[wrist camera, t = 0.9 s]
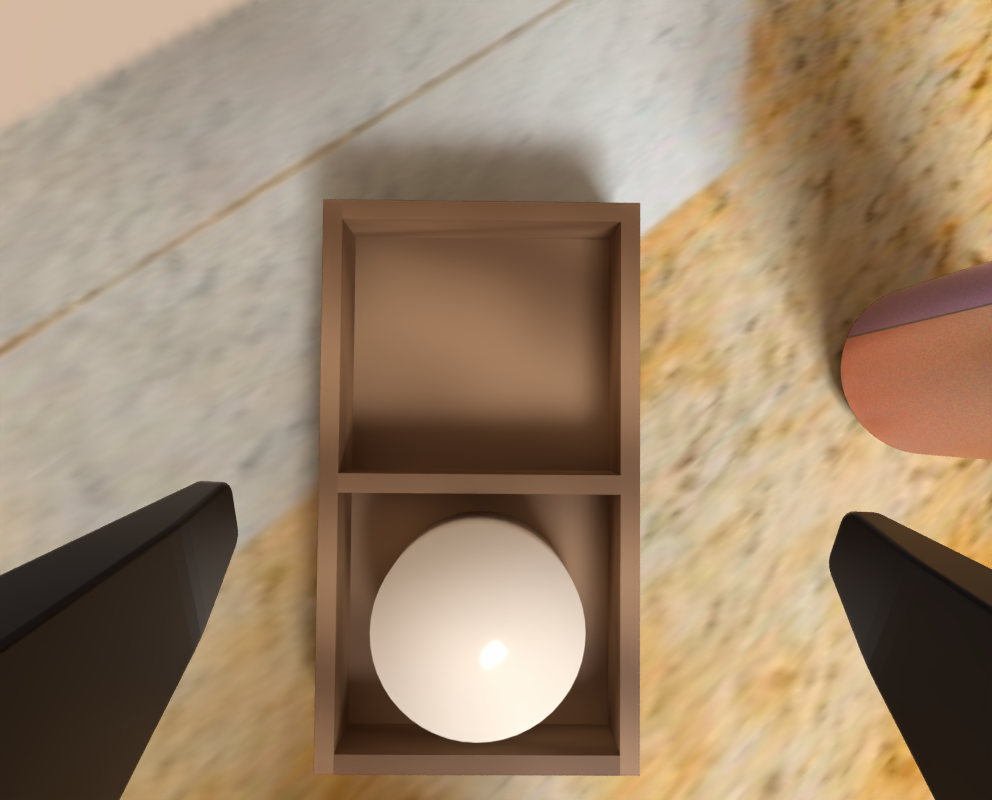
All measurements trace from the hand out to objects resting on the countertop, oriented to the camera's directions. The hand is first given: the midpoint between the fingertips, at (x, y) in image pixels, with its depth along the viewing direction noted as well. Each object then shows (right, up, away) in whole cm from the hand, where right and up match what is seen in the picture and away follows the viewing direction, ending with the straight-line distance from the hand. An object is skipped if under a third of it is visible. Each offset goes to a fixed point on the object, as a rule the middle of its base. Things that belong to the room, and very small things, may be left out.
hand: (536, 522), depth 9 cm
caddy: (-1, -1, +14) cm, 14 cm away
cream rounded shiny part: (-1, -5, +12) cm, 13 cm away
